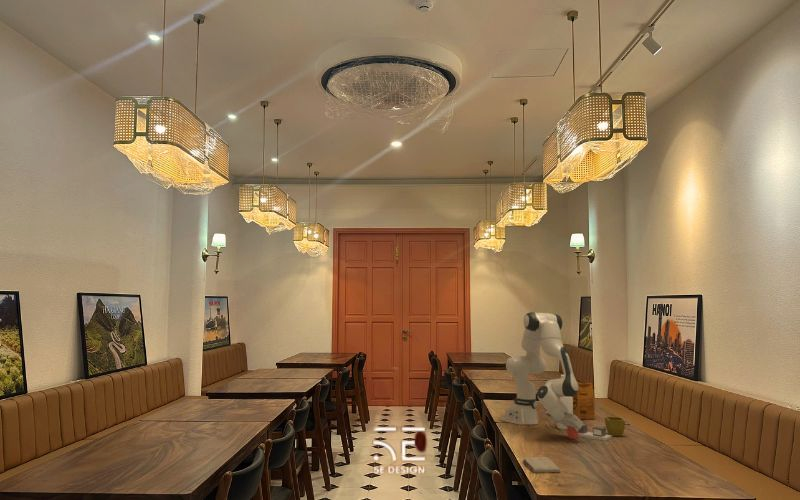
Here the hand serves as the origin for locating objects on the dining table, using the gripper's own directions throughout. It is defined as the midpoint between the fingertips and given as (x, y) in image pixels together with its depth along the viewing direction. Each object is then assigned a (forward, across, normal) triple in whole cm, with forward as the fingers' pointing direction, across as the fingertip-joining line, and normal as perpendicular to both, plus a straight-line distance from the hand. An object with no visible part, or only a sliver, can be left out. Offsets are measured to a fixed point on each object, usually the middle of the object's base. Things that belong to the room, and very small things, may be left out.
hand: (573, 429), depth 296 cm
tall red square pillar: (+3, 0, +4) cm, 4 cm away
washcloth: (-33, -36, +40) cm, 63 cm away
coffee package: (+32, +36, -26) cm, 55 cm away
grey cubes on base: (+10, -2, -4) cm, 11 cm away
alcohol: (+11, +18, -4) cm, 22 cm away
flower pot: (+21, -5, -14) cm, 26 cm away
